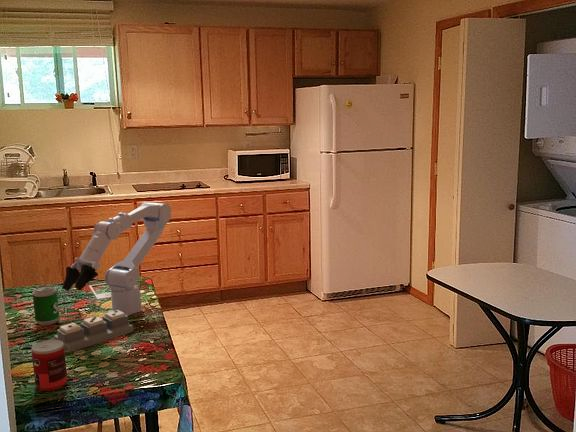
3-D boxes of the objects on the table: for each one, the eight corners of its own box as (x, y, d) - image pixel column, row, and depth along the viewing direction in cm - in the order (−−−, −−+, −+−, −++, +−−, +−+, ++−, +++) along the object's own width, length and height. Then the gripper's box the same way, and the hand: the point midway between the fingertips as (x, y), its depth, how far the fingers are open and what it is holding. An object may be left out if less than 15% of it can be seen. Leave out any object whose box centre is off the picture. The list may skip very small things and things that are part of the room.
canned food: (40, 378, 159) (36, 340, 156) (71, 376, 159) (67, 338, 157) (31, 392, 151) (26, 352, 149) (63, 390, 152) (59, 350, 150)
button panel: (116, 322, 197) (115, 309, 196) (133, 331, 189) (132, 317, 188) (54, 341, 182) (52, 327, 181) (70, 352, 175) (69, 337, 174)
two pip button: (118, 314, 193) (117, 309, 193) (125, 318, 190) (124, 312, 190) (105, 318, 190) (105, 312, 190) (112, 322, 187) (112, 316, 187)
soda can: (51, 327, 194) (47, 292, 191) (30, 325, 195) (27, 291, 193) (64, 318, 201) (60, 285, 199) (44, 317, 202) (40, 284, 200)
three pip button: (96, 321, 188) (96, 315, 187) (103, 324, 185) (103, 318, 184) (83, 325, 185) (83, 319, 184) (90, 329, 182) (89, 322, 181)
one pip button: (74, 328, 183) (73, 322, 182) (80, 331, 180) (80, 325, 179) (60, 332, 180) (59, 326, 179) (66, 336, 177) (66, 329, 176)
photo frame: (97, 298, 219) (88, 285, 234) (97, 301, 219) (89, 287, 234) (136, 291, 225) (126, 279, 241) (136, 294, 225) (126, 281, 241)
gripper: (72, 247, 193) (49, 282, 186) (95, 244, 184) (73, 281, 177) (88, 259, 197) (67, 294, 190) (112, 257, 188) (90, 293, 181)
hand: (71, 289), depth 184 cm, fingers open, 7 cm apart
